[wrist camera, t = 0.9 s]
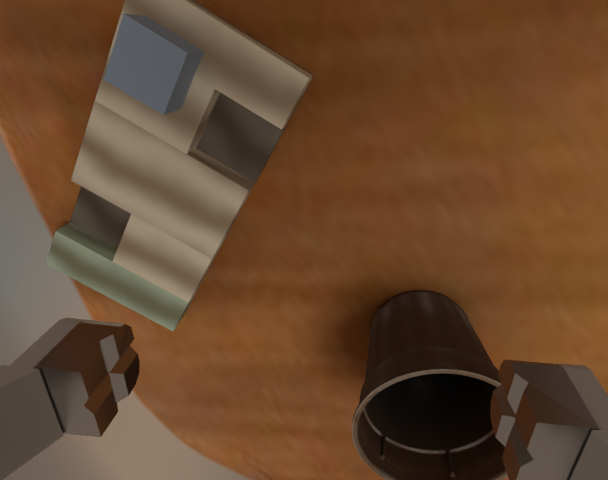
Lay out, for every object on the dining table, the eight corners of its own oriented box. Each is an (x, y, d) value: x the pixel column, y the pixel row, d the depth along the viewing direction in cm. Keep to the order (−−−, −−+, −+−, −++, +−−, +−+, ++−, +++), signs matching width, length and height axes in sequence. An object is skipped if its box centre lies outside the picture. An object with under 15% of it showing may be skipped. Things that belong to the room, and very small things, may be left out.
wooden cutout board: (150, -27, 39) (134, -32, 37) (313, 75, 41) (309, 78, 39) (61, 253, 55) (45, 264, 52) (182, 317, 57) (173, 331, 54)
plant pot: (482, 264, 48) (531, 361, 33) (493, 371, 54) (539, 491, 39) (343, 285, 51) (334, 381, 37) (369, 383, 58) (370, 497, 43)
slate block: (146, 16, 38) (123, 13, 35) (204, 51, 39) (187, 53, 35) (126, 76, 41) (103, 79, 37) (181, 108, 41) (163, 115, 38)
